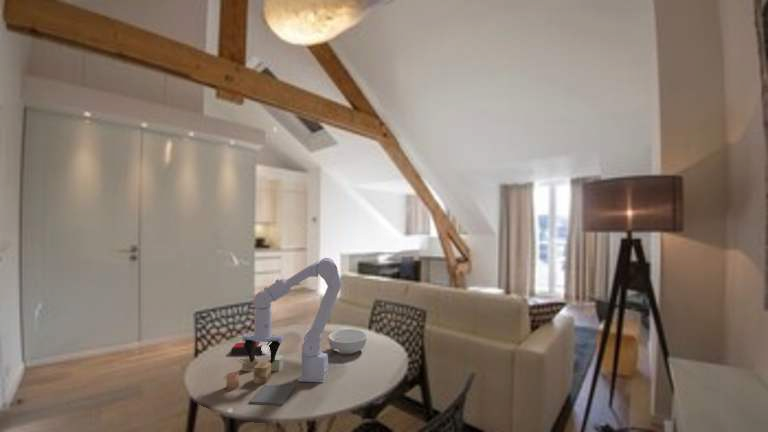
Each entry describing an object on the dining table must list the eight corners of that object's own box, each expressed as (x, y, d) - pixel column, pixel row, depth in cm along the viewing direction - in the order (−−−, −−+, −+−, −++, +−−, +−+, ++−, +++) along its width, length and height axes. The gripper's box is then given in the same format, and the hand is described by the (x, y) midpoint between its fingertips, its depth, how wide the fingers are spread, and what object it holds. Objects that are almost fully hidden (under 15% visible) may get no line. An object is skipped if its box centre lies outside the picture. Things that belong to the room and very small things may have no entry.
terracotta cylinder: (241, 384, 121) (241, 372, 121) (235, 390, 117) (235, 377, 117) (230, 384, 122) (230, 371, 122) (224, 389, 118) (224, 376, 118)
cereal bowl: (320, 352, 151) (320, 336, 151) (345, 341, 165) (345, 326, 165) (349, 362, 141) (350, 344, 141) (373, 349, 155) (374, 333, 155)
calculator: (239, 338, 158) (272, 336, 160) (239, 348, 158) (273, 345, 160) (230, 347, 147) (266, 344, 149) (231, 357, 147) (266, 354, 149)
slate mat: (294, 388, 119) (294, 386, 119) (282, 405, 108) (282, 403, 108) (263, 386, 120) (263, 384, 120) (248, 403, 109) (248, 401, 109)
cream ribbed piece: (261, 368, 135) (261, 355, 135) (239, 374, 129) (239, 360, 129) (258, 365, 138) (258, 351, 138) (236, 370, 133) (236, 356, 133)
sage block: (283, 366, 137) (283, 355, 137) (279, 371, 132) (279, 359, 132) (272, 366, 137) (272, 355, 137) (268, 370, 133) (268, 359, 133)
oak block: (271, 377, 127) (271, 362, 127) (265, 383, 122) (265, 368, 122) (259, 377, 127) (259, 362, 127) (253, 383, 123) (253, 367, 123)
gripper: (238, 326, 122) (237, 365, 122) (278, 328, 120) (277, 367, 120) (247, 320, 129) (247, 357, 129) (285, 322, 127) (284, 358, 127)
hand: (262, 361), depth 125 cm, fingers open, 7 cm apart
